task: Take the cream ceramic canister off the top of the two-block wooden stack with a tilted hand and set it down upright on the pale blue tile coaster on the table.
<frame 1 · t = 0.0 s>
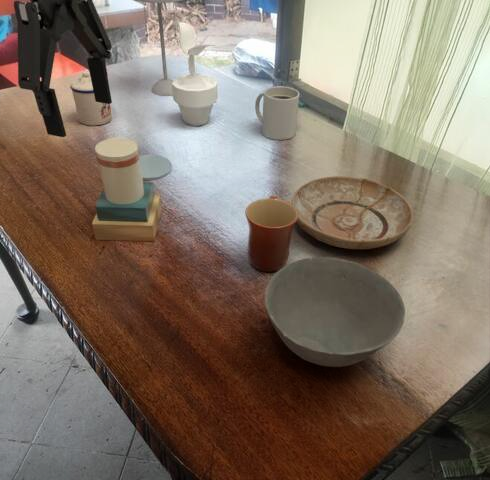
hand: (81, 117, 72), 21 cm above the table, tool pointing down, fingers open, 13 cm apart
coaster: (147, 168, 104), on the table
mug 2: (276, 132, 120), on the table
canister: (125, 194, 84), point 6 cm above the table, touching stack
bowl: (322, 348, 68), on the table
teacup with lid: (96, 118, 122), on the table
mug: (268, 257, 83), on the table
potted plant: (197, 122, 122), on the table
stack: (130, 223, 89), on the table
lamp: (166, 90, 137), on the table
ceramic bowl: (346, 227, 90), on the table
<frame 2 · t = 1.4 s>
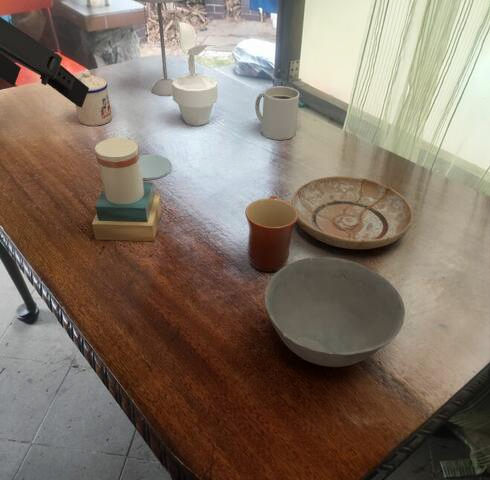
hand: (48, 86, 63), 28 cm above the table, tool tilted 45°, fingers open, 13 cm apart
nothing on the table moved.
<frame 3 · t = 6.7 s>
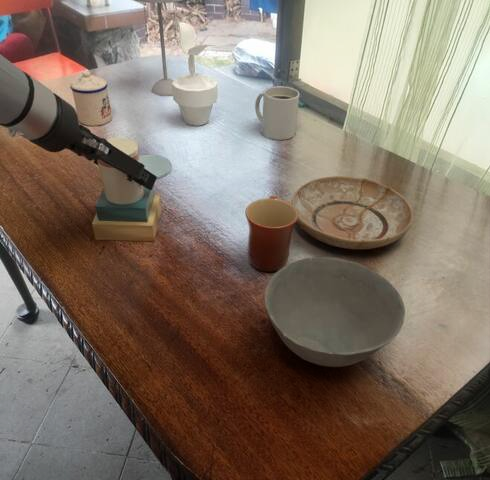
hand: (136, 176, 84), 9 cm above the table, tool tilted 45°, fingers closed on canister, 7 cm apart
canister: (125, 194, 84), point 7 cm above the table, touching gripper, stack
everything else where it was.
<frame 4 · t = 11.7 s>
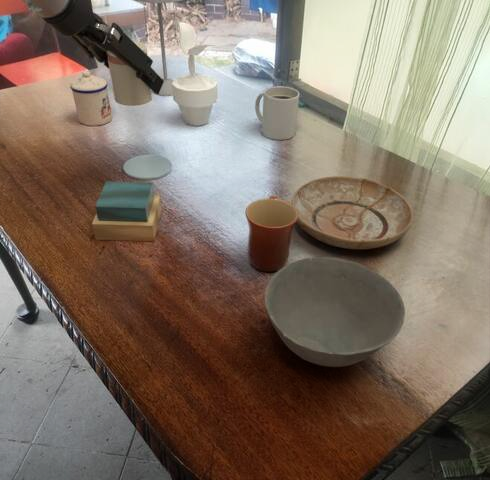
hand: (144, 82, 89), 19 cm above the table, tool tilted 45°, fingers closed on canister, 7 cm apart
canister: (133, 98, 88), point 17 cm above the table, touching gripper
everything else where it was.
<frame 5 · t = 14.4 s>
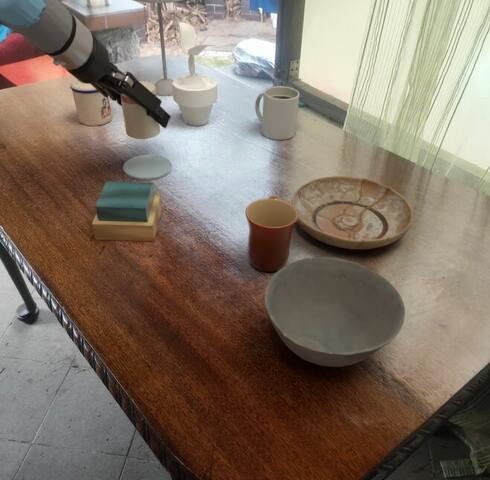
hand: (152, 117, 98), 10 cm above the table, tool tilted 45°, fingers closed on canister, 7 cm apart
canister: (143, 131, 98), point 8 cm above the table, touching gripper
everything else where it was.
when the fingers open (3 cm above the table, at t = 16.9 s): canister stays where it is, resting on coaster.
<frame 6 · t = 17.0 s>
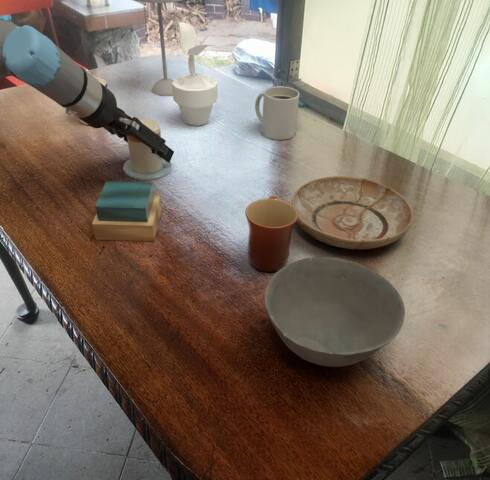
hand: (157, 151, 104), 3 cm above the table, tool tilted 45°, fingers open, 7 cm apart
canister: (147, 165, 103), point 1 cm above the table, touching coaster
everything else where it was.
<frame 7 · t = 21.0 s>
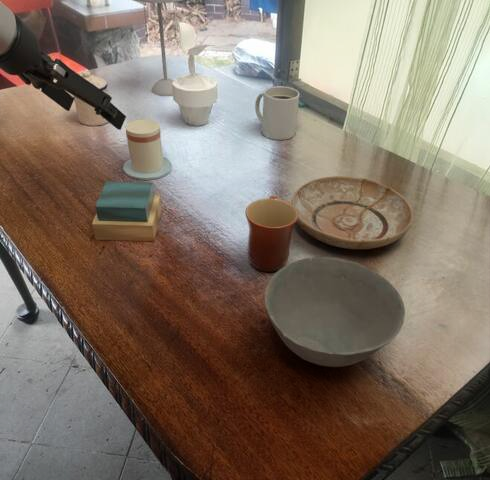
hand: (95, 113, 86), 16 cm above the table, tool tilted 45°, fingers open, 13 cm apart
nothing on the table moved.
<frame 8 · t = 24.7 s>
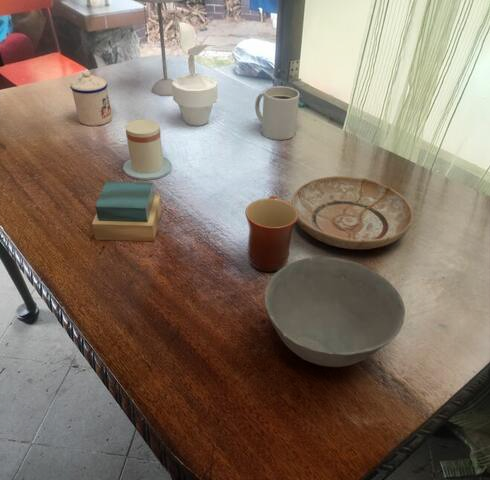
nothing on the table moved.
at the end: canister 0.1 cm off-centre on the coaster, point 0.6 cm above the coaster's base; canister tilted 0°; canister touching coaster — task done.
